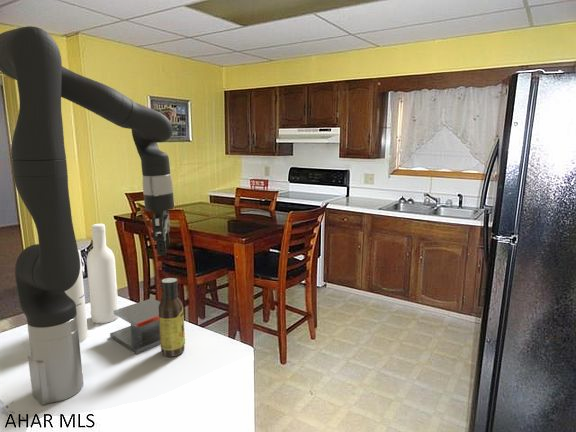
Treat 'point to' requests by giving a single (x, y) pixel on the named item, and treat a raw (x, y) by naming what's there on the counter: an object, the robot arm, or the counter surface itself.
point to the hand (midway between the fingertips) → (164, 249)
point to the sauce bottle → (171, 320)
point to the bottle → (102, 278)
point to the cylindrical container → (79, 304)
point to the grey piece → (139, 326)
